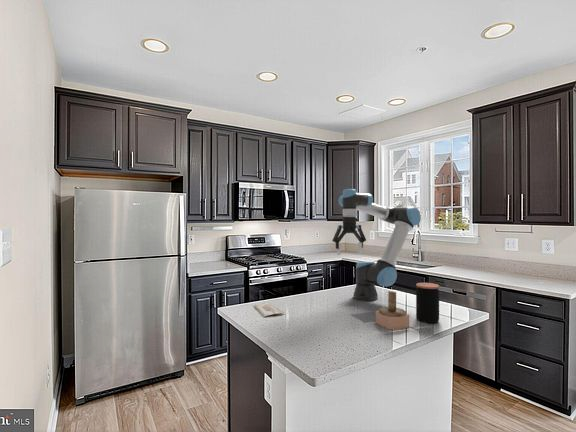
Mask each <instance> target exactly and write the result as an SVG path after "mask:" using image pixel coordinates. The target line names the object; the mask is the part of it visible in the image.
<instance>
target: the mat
mask: <svg viewBox="0 0 576 432" xmlns="http://www.w3.org/2000/svg"><path fill="white" fill-rule="evenodd" d="M349 315H350V316H351V317H354V318H356V320H358V321H360V322H362V323H365V324H366V323H372V322H373V323H374V322H376V312H374V311H369V312H359V313H352V314H351V313H350V314H349Z"/></svg>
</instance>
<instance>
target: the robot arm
mask: <svg viewBox="0 0 576 432" xmlns="http://www.w3.org/2000/svg"><path fill="white" fill-rule="evenodd" d="M338 204H339V206H340V207H342V224H341V225H340V224H338V225H337V229H336V232H335V234H334V236H333V239H332V242H333V243H335V249H336V255H337V256H341V243H340V242H341V241H342V240H343V239H344V236H346V234H353V235H354V236H355V238H356V239H357V240H358V242H357V254H359V255H362V254H363V248H364V242H365V241H367V238H366V237H365V234H364V232H363V230H362V225H361V224H357V217H356V216H357V211H359V212H361V213H364V214H367V215H371V216H374V217H377V218H378V219H379V220H381V221H382V222H386V223H389V224H392V225H394V228H393V231H392V233H391V235H390V237H389V240H388V242H387V244H386V247H385V250H384V251H383V254H382V256H381V258H380V259H377V261H376V262H375V261H360V262H356V263H355V264H356V267H355V288H354V292H353V296H352V297H353V298H354V299H356V300H358V301H364V302H365V301H369V302H370V301H371V302H372V301H376V300H378V298H379V295H378V291H377V289H376V285H377V286H380V287H390V286H392V285H393V284H395V282H396V280H397V278H398V272H397V267H396V265H395V264H396V262H397V260H398V257H399V256H400V253H401V251H402V249H403V246H404V244H405V241H406V238H407V236H408V234H409V232H411V231H413V229H414V226H415V227H416V226H418V225H419V224H420V223H421V220H422V219H421V218H422V217H421V216H422V215H421V213H420V211H419V209H418V208H417V207H415V206H394V207H393V206H387V205H383V206H382V205H379V204H376V203H374V197H373V195H372V194H371V193H368V192H367V193H365V192H363V193H362V192H357V190H356V189H355V188H344V189H343V190H342V195H340V196H339V198H338ZM342 229H343V230H342Z"/></svg>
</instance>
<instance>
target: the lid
mask: <svg viewBox="0 0 576 432" xmlns="http://www.w3.org/2000/svg"><path fill="white" fill-rule="evenodd" d="M387 295H388V296H387V297H388V299H387V300H388V301H387V303H388V306H385V307H380V308H378V310H379V313H380V314H382V315H386V316H392V317H401V316H405V315H406V314H407V311H406V310H405V309H403V308H399V307H397V291H395V290H389V291H388V294H387Z"/></svg>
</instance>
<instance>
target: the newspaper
mask: <svg viewBox="0 0 576 432" xmlns="http://www.w3.org/2000/svg"><path fill="white" fill-rule="evenodd" d="M253 307H254V309H256V310H257V312H258V313H259V314H260V315H261V316H262V317H263V318H265V317H267V316H271V315H272V316H273V315H276V316H279V317H280V316H283V315H285V314H286V312H283V310H281V309H280V308H278V307H276V306H275V305H274V304H272V303H271V302H263V303H258V304H254V305H253Z"/></svg>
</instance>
